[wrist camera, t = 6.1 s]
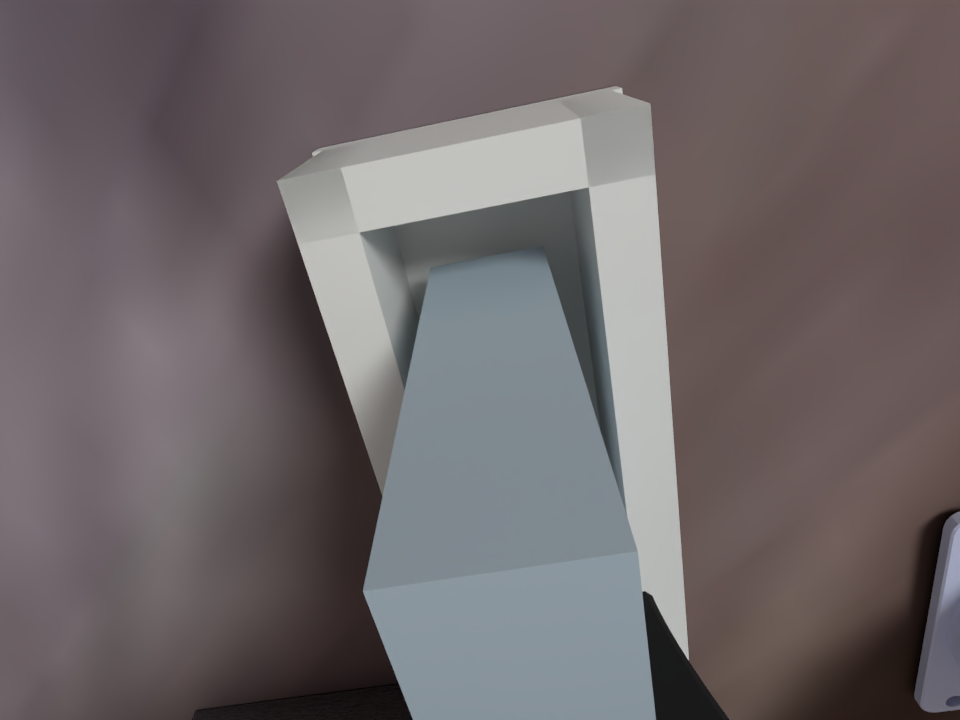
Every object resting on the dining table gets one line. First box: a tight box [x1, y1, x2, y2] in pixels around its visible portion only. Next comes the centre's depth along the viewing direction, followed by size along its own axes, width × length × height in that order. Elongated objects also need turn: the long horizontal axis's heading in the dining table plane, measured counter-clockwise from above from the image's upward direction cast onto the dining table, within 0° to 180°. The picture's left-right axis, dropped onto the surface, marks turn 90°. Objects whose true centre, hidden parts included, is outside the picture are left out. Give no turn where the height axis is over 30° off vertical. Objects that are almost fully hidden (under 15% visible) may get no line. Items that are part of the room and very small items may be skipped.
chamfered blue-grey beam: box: [363, 246, 656, 720], centre depth 11 cm, size 2×12×8 cm, turn 11°
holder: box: [277, 86, 689, 660], centre depth 14 cm, size 6×16×4 cm, turn 11°
